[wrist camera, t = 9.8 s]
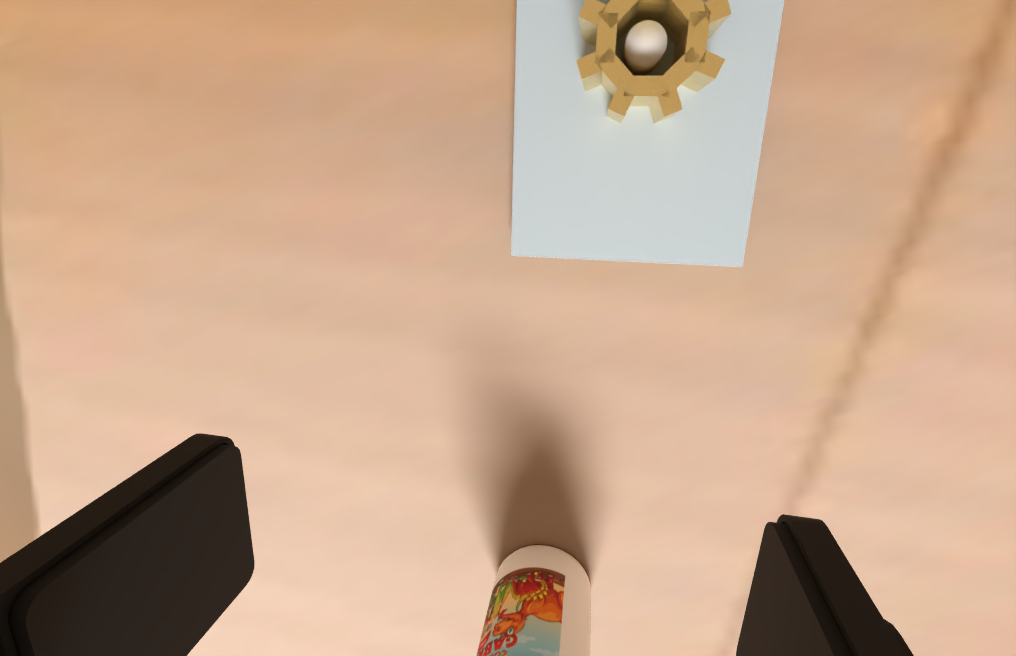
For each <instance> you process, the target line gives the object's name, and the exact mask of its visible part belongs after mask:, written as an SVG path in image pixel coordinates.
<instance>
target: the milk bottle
mask: <svg viewBox="0 0 1016 656" xmlns="http://www.w3.org/2000/svg"><path fill="white" fill-rule="evenodd" d="M590 631H591V586H590V581H589V578H588V576H587V574H586V572H585V570H584V569H583V567H582V566H581V565H580V563H579V562H578V561H577V560H576V559H574V558H573V557H572V556H571V555H569V554H568V553H566V552H565V551H562V550H560V549H558V548H555V547H550V546H545V545H532V546H527V547H523V548H520V549H518V550H516V551H514V552H513V553H512V554H510V555H509V556H508V557H507V558H506V559H505V560H504V561H503V562H502V564H501V566H500V567H499V570H498V573H497V576H496V580H495V583H494V587H493V591H492V595H491V599H490V603H489V607H488V611H487V615H486V619H485V623H484V627H483V631H482V635H481V639H480V644H479V648H478V652H477V656H590Z"/></svg>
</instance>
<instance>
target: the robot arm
mask: <svg viewBox="0 0 1016 656" xmlns="http://www.w3.org/2000/svg"><path fill="white" fill-rule="evenodd" d="M253 570H254V555H253V547H252V539H251V531H250V523H249V515H248V507H247V499H246V491H245V483H244V475H243V467H242V459H241V453H240V450H239V449H238V447H235V446H234V443H233V441H232V440H231V439H230V438H228V437H223V436H216V435H208V434H195V435H193V436H191V437H190V438H188V439H187V440H185V441H184V442H182V443H181V444H179V445H177V446H176V447H174V448H173V449H171V450H170V451H168V452H167V453H165V454H164V455H162V456H161V457H159V458H158V459H156V460H155V461H153V462H152V463H150V464H149V465H147V466H146V467H144V468H143V469H141V470H140V471H138V472H137V473H135V474H134V475H132V476H131V477H129V478H128V479H126V480H125V481H123V482H122V483H120V484H119V485H117V486H116V487H114V488H113V489H111V490H110V491H108V492H107V493H105V494H104V495H102V496H101V497H99V498H97V499H96V500H94V501H93V502H91V503H90V504H88V505H87V506H85V507H84V508H82V509H81V510H79V511H78V512H76V513H75V514H73V515H72V516H70V517H69V518H67V519H66V520H64V521H63V522H61V523H60V524H58V525H57V526H55V527H54V528H52V529H51V530H49V531H48V532H46V533H45V534H43V535H42V536H40V537H39V538H37V539H36V540H34V541H33V542H31V543H30V544H28V545H27V546H25V547H24V548H22V549H21V550H19V551H18V552H16V553H15V554H13V555H11V556H10V557H8V558H7V559H6V560H4V561H2V562H1V563H0V656H187V655H188V653H189V652H190V651H191V650H192V649H193V647H194V646H195V645H196V644H197V643H198V642H199V640H200V639H201V638H202V637H203V636H204V635H205V633H206V632H207V631H208V630H209V629H210V627H211V626H212V625H213V624H214V623H215V622H216V620H217V619H218V618H219V617H220V616H221V614H222V613H223V612H224V611H225V610H226V609H227V607H228V606H229V605H230V604H231V603H232V602H233V600H234V599H235V598H236V597H237V596H238V594H239V593H240V592H241V591H242V590H243V589H244V587H245V586H246V585H247V583H248V582H249V580H250V578H251V576H252V573H253ZM736 656H914V655H913V654H912V652H911V651H910V649H909V647H908V646H907V644H906V643H905V641H904V639H903V638H902V636H901V635H900V633H899V632H898V631H897V630H896V628H895V627H894V626H893V625H892V624H891V623H889V622H888V621H886V620H885V619H883V617H882V616H881V614H880V612H879V611H878V609H877V608H876V606H875V604H874V603H873V601H872V599H871V598H870V596H869V594H868V593H867V591H866V589H865V588H864V586H863V585H862V583H861V581H860V580H859V578H858V576H857V575H856V573H855V571H854V570H853V568H852V567H851V565H850V563H849V562H848V560H847V558H846V557H845V555H844V553H843V552H842V550H841V549H840V547H839V545H838V544H837V542H836V540H835V539H834V537H833V535H832V534H831V532H830V530H829V529H828V527H827V526H826V524H825V523H824V522H823V521H822V520H819V519H812V518H805V517H798V516H791V515H784V514H783V515H781V516H780V517H779V519H778V521H777V523H774V522H768V523H767V524H766V526H765V529H764V533H763V538H762V542H761V546H760V551H759V555H758V559H757V564H756V568H755V572H754V577H753V581H752V585H751V589H750V594H749V598H748V602H747V607H746V611H745V615H744V620H743V624H742V628H741V633H740V637H739V641H738V646H737V652H736Z"/></svg>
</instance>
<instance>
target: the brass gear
mask: <svg viewBox="0 0 1016 656" xmlns="http://www.w3.org/2000/svg"><path fill="white" fill-rule="evenodd" d="M730 15H731V10H730V6H729V2H728V0H709V1H706V2H703V1H702V0H610V2H609V3H608V4H607V5H606V4H604V3H601V2H599V1H597V0H585V2H584V5H583V7H582V9H581V12H580V14H579V23H580V30H581V36H582V40H584V41H586V42H588V43H590V44H592V45H595V46H596V52H593V53H591V54H589V55H587V56H584V57H582V58H580V59H578V60H576V62H577V66H578V70H579V74H580V78H581V81H582V84H583V87H584V90H585V92H586V91H589V90H591V89H593V88H596V87H598V86H600V85H602V86H603V87H604V88H605V89H606V91H607V92H608V93H609V94H610V95H611V96H612V101H611V103H610V105H609V107H608V110H607V117H608V118H610V119H612V120H614V121H617V122H619V123H621V122H622V120H623V118H624V117H625V115H626V112H627V110H628V108H629V106H633V107H649V109H650V113H651V116H652V119H653V123H654V124H655V123H657V122H660V121H662V120H665V119H667V118H670V117H671V116H673V115H674V114H676V113H678V112H679V111H681V110H682V105H681V102H680V98H679V95H678V91H677V88H678V87H679V86H680V85H682V86H684V87H686V88H688V89H690V90H693V91H695V92H698V91H699V90H701V89H702V88H703V87H705V86H706V85H708V84H709V83H710V82H712V81H713V80H715V78H716V77H717V75H718V73H719V71H720V69H721V67H722V65H723V63H724V61H725V59H724V58H722V57H719V56H717V55H715V54H713V53H711V52H709V51H706V47H707V39H709V38H710V37H711V36H712V35H713V34H714V33H715V32H716V31H717V29H718V28H719V27H720V26H721V25H722V24H723V23H724V22H725V20H726V19H727V18H728V17H729V16H730ZM645 20H652V21H655V22H657V23H659V24H660V25H661V26H662V27H663V28H664V30H665V31H666V34H667V36H668V37H669V38H670V39H671V40H672V42H673V43H674V53H673V63H672V67H671V68H670V69H669V70H668V71H667V72H666V73H664V74H663V75H662V76H633V74H632V73H631V72H630V71H629V70H628V69H627V67H626V66H625V65H624V64H623V63H622V62H621V60H620V59H619V58H618V57H617V56H616V54H615V48H616V43H617V42H618V41H619V40H620V39H621V37H622V36H623V35H624V34H625V33H626V32H627V31H628V30H629V29H630V28H631V27H632V26H633V25H636V24H637V23H639V22H642V21H645Z"/></svg>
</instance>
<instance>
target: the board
mask: <svg viewBox="0 0 1016 656" xmlns="http://www.w3.org/2000/svg"><path fill="white" fill-rule="evenodd" d="M597 1H599V2H601V3H604V4H606V5H607V4H608V3H609V2H610V0H597ZM702 1H703V2H706V1H709V0H702ZM584 2H585V0H517V20H516V64H515V108H514V152H513V196H512V240H511V256H527V257H547V258H567V259H588V260H608V261H628V262H648V263H669V264H689V265H709V266H729V267H743V260H744V254H745V248H746V241H747V235H748V229H749V222H750V216H751V210H752V203H753V197H754V190H755V184H756V178H757V171H758V165H759V159H760V152H761V146H762V140H763V133H764V127H765V120H766V114H767V108H768V101H769V95H770V89H771V82H772V76H773V70H774V63H775V57H776V50H777V44H778V38H779V31H780V25H781V19H782V12H783V6H784V0H728V2H729V6H730V10H731V15H730V16H729V17H728V18H727V19H726V20H725V22H724V23H723V24H722V25H721V26H720V27H719V28H718V29H717V31H716V32H715V33H714V34H713V35H712V36H711V37H710V38H709V39H707V47H706V51H709V52H711V53H713V54H715V55H717V56H719V57H722V58H724V59H725V61H724V63H723V65H722V67H721V69H720V71H719V73H718V75H717V77H716V78H715V80H713V81H712V82H710V83H709V84H708V85H706V86H705V87H703V88H702V89H701V90H699V91H698V92H695V91H693V90H690V89H688V88H686V87H684V86H682V85H680V86H679V87H678V88H677V91H678V95H679V98H680V102H681V105H682V110H681V111H679V112H678V113H676V114H674V115H673V116H671V117H670V118H667V119H665V120H662V121H660V122H657V123H655V124H654V123H653V119H652V116H651V113H650V109H649V107H633V106H629V108H628V110H627V112H626V115H625V117H624V118H623V120H622V122H621V123H619V122H617V121H614V120H612V119H610V118H608V117H607V110H608V107H609V105H610V103H611V101H612V96H611V95H610V94H609V93H608V92H607V91H606V89H605V88H604V87H603V86H602V85H600V86H598V87H596V88H593V89H591V90H589V91H586V92H585V90H584V87H583V84H582V81H581V78H580V74H579V70H578V66H577V62H576V60H578V59H580V58H582V57H584V56H587V55H589V54H591V53H593V52H596V46H595V45H592V44H590V43H588V42H586V41H584V40H582V36H581V30H580V23H579V14H580V12H581V9H582V7H583V5H584ZM673 53H674V43H673V42H672V40H671V39H670V38H669V37H668V36H667V34H666V31H665V30H664V28H663V27H662V26H661V25H660V24H659V23H657V22H655V21H652V20H645V21H642V22H639V23H637V24H636V25H633V26H632V27H631V28H630V29H629V30H628V31H627V32H626V33H625V34H624V35H623V36H622V37H621V39H620V40H619V41H618V42H617V43H616V48H615V54H616V56H617V57H618V58H619V59H620V60H621V62H622V63H623V64H624V65H625V66H626V67H627V69H628V70H629V71H630V72H631V73H632V74H633V76H662V75H663V74H664V73H666V72H667V71H668V70H669V69H670V68H671V67H672V63H673Z"/></svg>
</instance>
